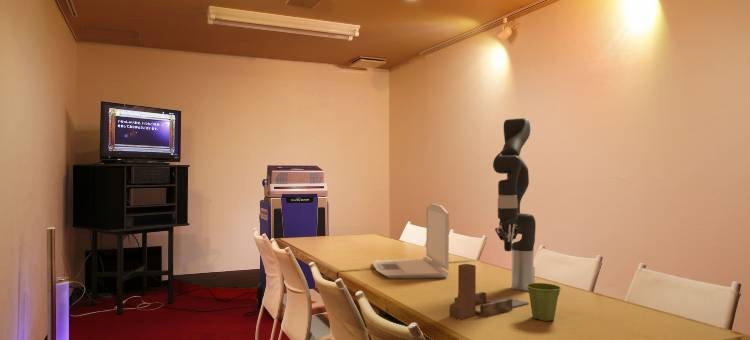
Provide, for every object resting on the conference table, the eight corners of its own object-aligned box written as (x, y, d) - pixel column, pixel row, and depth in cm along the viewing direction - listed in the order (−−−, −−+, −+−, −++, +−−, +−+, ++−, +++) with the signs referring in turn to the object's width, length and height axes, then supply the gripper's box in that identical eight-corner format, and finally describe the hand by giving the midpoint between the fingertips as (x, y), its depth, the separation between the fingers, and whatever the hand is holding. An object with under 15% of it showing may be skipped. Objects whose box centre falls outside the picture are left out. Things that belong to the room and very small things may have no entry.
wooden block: (458, 320, 171) (458, 268, 171) (449, 317, 174) (449, 266, 174) (475, 316, 176) (476, 265, 176) (466, 313, 180) (466, 263, 180)
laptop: (369, 265, 275) (370, 202, 275) (428, 264, 279) (428, 202, 279) (380, 281, 234) (380, 207, 234) (448, 279, 238) (448, 207, 238)
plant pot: (568, 321, 170) (568, 288, 170) (539, 324, 167) (539, 290, 167) (547, 312, 181) (547, 281, 182) (519, 314, 178) (519, 283, 178)
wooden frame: (483, 302, 196) (483, 291, 196) (512, 309, 184) (512, 299, 184) (454, 308, 186) (454, 297, 186) (483, 317, 175) (483, 305, 175)
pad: (505, 298, 202) (505, 296, 202) (528, 304, 193) (528, 302, 193) (489, 302, 196) (489, 300, 196) (512, 308, 187) (512, 306, 187)
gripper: (510, 205, 201) (510, 247, 201) (488, 207, 193) (489, 251, 193) (526, 206, 195) (526, 250, 195) (504, 208, 187) (504, 254, 187)
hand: (508, 250), depth 194 cm, fingers closed
